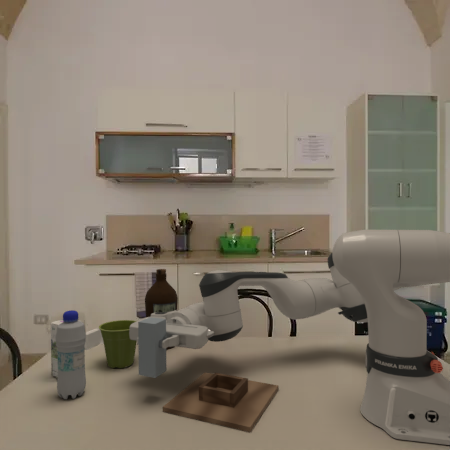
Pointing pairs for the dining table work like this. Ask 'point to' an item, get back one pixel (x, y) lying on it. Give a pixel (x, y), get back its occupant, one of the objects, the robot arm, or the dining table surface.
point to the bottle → (71, 356)
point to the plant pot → (118, 343)
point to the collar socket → (223, 400)
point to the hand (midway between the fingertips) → (150, 343)
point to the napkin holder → (93, 338)
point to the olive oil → (160, 296)
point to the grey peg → (151, 347)
